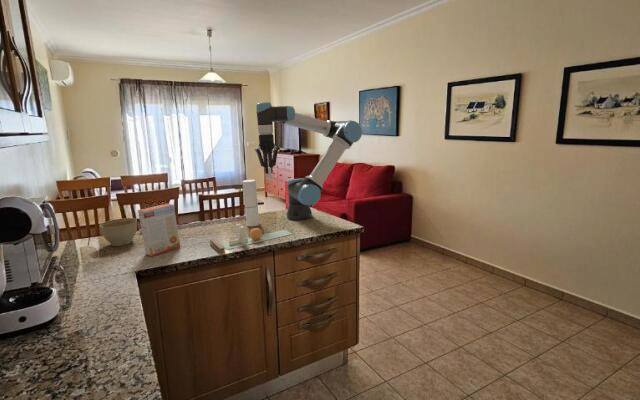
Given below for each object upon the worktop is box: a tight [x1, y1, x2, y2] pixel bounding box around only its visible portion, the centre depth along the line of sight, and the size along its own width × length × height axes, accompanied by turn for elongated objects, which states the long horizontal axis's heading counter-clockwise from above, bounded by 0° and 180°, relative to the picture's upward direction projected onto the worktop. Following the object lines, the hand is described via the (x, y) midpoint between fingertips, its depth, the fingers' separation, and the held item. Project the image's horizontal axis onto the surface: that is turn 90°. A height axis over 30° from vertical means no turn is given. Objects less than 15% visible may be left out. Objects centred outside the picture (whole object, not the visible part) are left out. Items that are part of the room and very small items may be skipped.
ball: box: [249, 227, 263, 240], centre depth 167 cm, size 6×6×6 cm
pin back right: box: [235, 223, 242, 239], centre depth 165 cm, size 2×2×8 cm
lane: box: [220, 229, 293, 250], centre depth 168 cm, size 34×9×1 cm, turn 123°
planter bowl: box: [99, 217, 138, 247], centre depth 171 cm, size 16×16×11 cm
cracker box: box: [137, 203, 181, 257], centre depth 156 cm, size 14×6×21 cm, turn 141°
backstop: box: [209, 238, 226, 254], centre depth 158 cm, size 2×16×2 cm, turn 33°
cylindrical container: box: [242, 179, 260, 227], centre depth 191 cm, size 7×7×25 cm
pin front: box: [228, 236, 249, 246], centre depth 163 cm, size 2×2×8 cm
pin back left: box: [239, 225, 247, 246], centre depth 161 cm, size 2×2×8 cm
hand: (269, 179), depth 180 cm, fingers closed
